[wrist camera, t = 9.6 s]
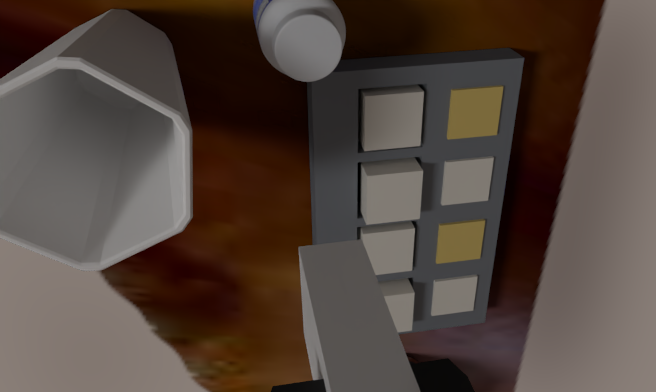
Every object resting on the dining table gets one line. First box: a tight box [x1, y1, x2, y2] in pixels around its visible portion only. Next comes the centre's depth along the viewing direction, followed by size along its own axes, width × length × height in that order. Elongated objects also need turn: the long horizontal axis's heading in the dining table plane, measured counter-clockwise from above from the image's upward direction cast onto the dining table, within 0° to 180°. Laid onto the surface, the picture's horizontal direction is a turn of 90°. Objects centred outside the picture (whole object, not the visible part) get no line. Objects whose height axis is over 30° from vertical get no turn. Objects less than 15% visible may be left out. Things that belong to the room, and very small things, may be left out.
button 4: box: [378, 278, 415, 332], centre depth 55 cm, size 4×4×2 cm
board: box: [307, 48, 524, 334], centre depth 52 cm, size 26×16×3 cm, turn 1°
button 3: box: [357, 221, 415, 275], centre depth 52 cm, size 4×4×2 cm
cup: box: [0, 9, 193, 271], centre depth 36 cm, size 11×10×17 cm
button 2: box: [360, 157, 423, 225], centre depth 49 cm, size 4×4×2 cm
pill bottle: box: [253, 0, 346, 82], centre depth 39 cm, size 5×5×10 cm
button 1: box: [358, 84, 424, 151], centre depth 46 cm, size 4×4×2 cm
